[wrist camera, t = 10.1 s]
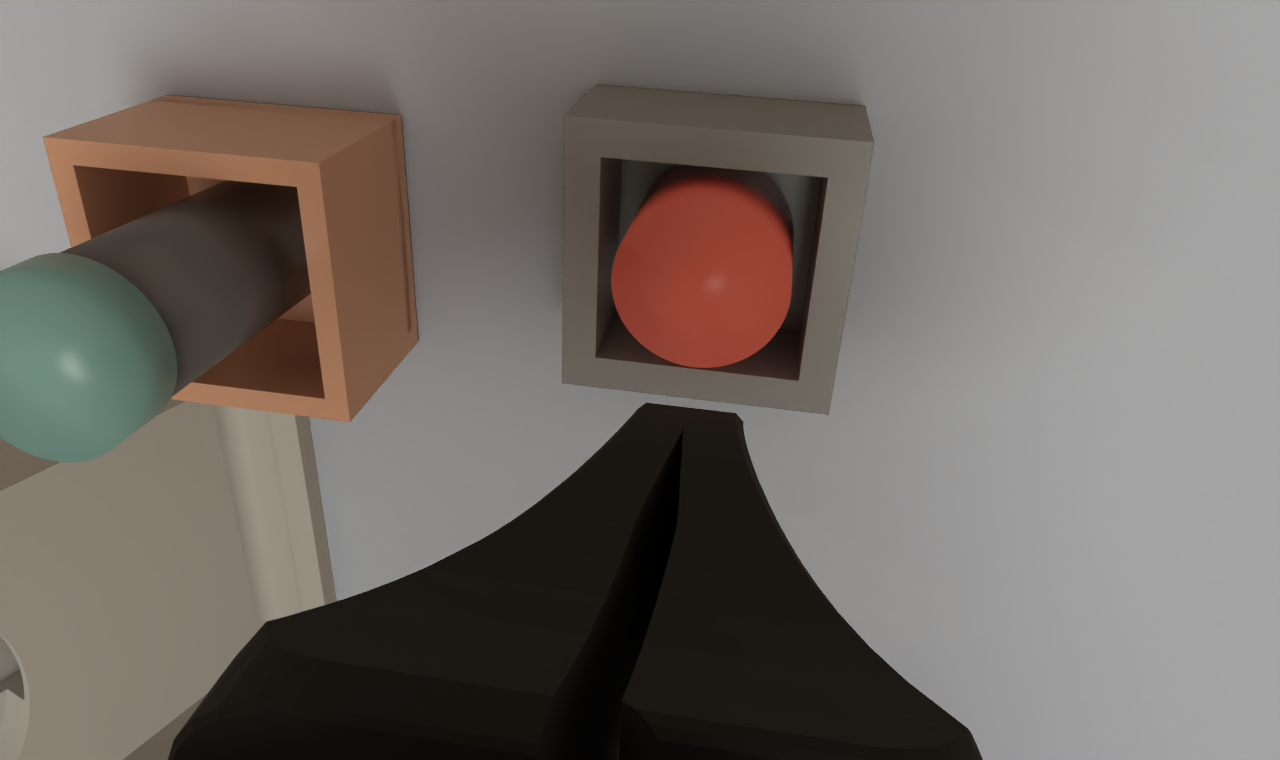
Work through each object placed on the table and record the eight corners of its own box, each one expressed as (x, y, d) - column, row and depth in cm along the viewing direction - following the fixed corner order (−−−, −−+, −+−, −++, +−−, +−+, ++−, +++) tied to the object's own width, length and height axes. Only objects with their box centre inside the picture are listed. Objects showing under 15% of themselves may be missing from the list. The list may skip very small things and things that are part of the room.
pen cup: (418, 341, 23) (349, 422, 20) (209, 317, 24) (108, 391, 21) (401, 115, 21) (319, 163, 17) (167, 94, 21) (42, 137, 18)
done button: (783, 316, 21) (780, 377, 18) (632, 300, 21) (608, 357, 19) (804, 165, 19) (803, 208, 17) (639, 150, 19) (614, 190, 17)
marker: (246, 298, 23) (-7, 466, 16) (202, 167, 21) (-96, 286, 14) (366, 287, 22) (160, 458, 15) (329, 152, 21) (84, 269, 14)
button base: (826, 350, 22) (828, 415, 19) (590, 324, 22) (562, 383, 20) (865, 106, 19) (874, 142, 16) (596, 84, 20) (564, 115, 17)
